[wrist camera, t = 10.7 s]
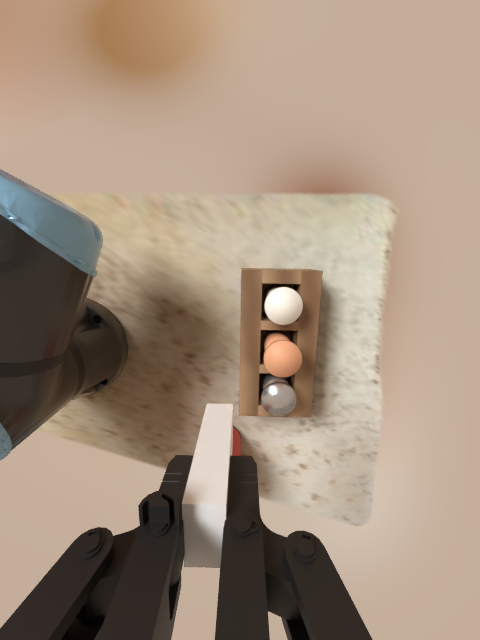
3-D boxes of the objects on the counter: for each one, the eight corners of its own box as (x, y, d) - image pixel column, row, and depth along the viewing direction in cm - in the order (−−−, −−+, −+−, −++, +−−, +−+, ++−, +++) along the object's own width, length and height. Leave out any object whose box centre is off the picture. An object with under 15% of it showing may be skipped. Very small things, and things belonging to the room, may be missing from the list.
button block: (239, 394, 44) (239, 415, 38) (241, 268, 40) (241, 269, 34) (302, 396, 44) (311, 417, 38) (311, 269, 40) (322, 271, 34)
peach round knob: (260, 356, 39) (263, 377, 32) (260, 326, 38) (264, 341, 31) (291, 357, 39) (300, 377, 32) (292, 327, 38) (303, 341, 31)
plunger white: (260, 313, 39) (264, 324, 32) (261, 282, 38) (265, 287, 32) (291, 313, 39) (301, 325, 32) (293, 282, 38) (303, 287, 31)
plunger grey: (258, 390, 42) (261, 415, 35) (259, 363, 41) (262, 383, 34) (287, 391, 42) (295, 416, 35) (288, 364, 41) (297, 384, 34)
